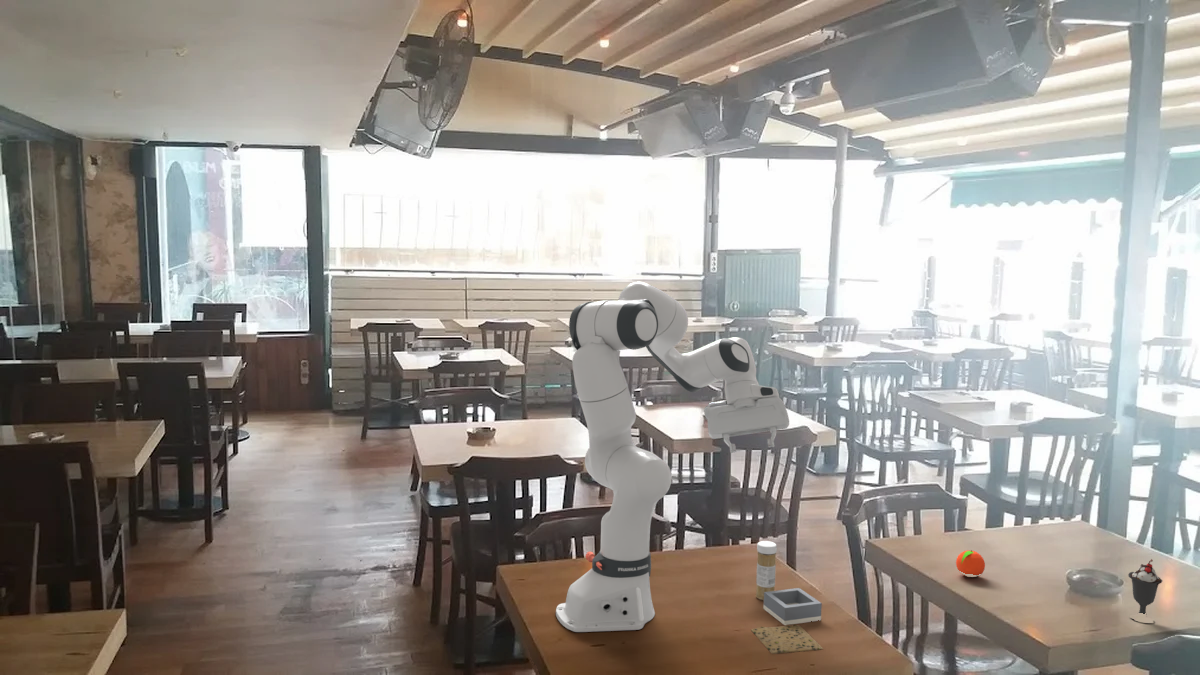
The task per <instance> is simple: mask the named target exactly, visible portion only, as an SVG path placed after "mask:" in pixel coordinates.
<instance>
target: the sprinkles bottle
mask: <svg viewBox="0 0 1200 675" xmlns="http://www.w3.org/2000/svg"><path fill="white" fill-rule="evenodd" d="M777 550H778V548H777V544H776V542H773V541H770V540H760V541H759V542H757V544H756V551H757V562H756V581H755V582H756V589H755V590H756V592H755V597H756V598H757V599H759V600H760V601H764V592H770V591H775V586H776V567H777V563H776V559H777V558H776V554H777Z"/></svg>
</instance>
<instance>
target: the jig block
mask: <svg viewBox="0 0 1200 675" xmlns="http://www.w3.org/2000/svg"><path fill="white" fill-rule="evenodd" d="M822 607H823V603H822V602H821V601H819V600H818V599H817V598H815V597H814V596H812V595H810V594H809V593H807V592H806V591H804V590H803V589H801V588H800V587H795V588H788V589H787V588H786V589H779V590H774V591H770V592H764V600H763V608H762V609H763V610H764V611H766V612H767V613H768V614H770V615H771V616H772V617H774V618H775V619H776V620H777V621H779V622H780V623H781V624H782V625H784V626H791V625H797V624H803V623H804V624H805V623H811V621H812V622H817V621H818V620H819V621H821V620H822ZM819 621H818V622H819Z"/></svg>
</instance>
